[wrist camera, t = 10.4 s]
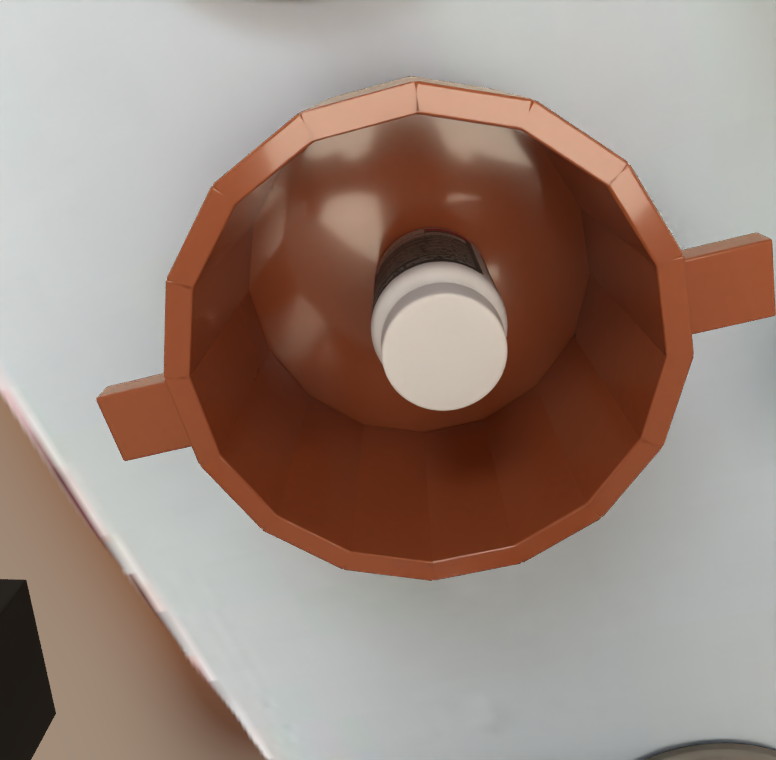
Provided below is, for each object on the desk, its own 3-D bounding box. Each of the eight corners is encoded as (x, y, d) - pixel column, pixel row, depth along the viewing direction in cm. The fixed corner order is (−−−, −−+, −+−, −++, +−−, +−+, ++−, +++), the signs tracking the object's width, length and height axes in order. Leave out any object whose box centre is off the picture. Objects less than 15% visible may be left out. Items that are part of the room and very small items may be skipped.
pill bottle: (351, 281, 30) (335, 354, 23) (433, 201, 29) (445, 249, 21) (429, 356, 32) (439, 449, 24) (511, 282, 30) (548, 356, 23)
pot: (684, 386, 33) (795, 511, 24) (243, 481, 35) (188, 629, 26) (646, 10, 27) (774, -18, 18) (117, 156, 29) (-13, 197, 20)
